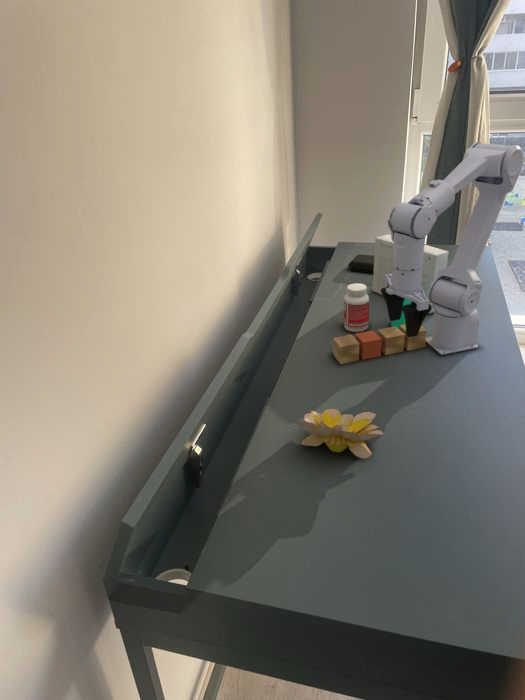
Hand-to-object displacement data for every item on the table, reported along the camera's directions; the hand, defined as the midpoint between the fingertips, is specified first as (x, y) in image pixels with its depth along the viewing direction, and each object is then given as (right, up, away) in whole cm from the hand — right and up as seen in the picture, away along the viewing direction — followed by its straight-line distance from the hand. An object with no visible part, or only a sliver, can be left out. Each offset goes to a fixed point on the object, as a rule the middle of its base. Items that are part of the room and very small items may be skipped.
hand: (403, 327), depth 110 cm
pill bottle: (-6, +1, +24) cm, 24 cm away
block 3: (+6, -3, +14) cm, 16 cm away
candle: (+6, +1, +22) cm, 23 cm away
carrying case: (+6, +21, +57) cm, 61 cm away
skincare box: (+10, +9, +36) cm, 38 cm away
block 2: (0, -4, +13) cm, 14 cm away
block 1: (-10, -6, +11) cm, 16 cm away
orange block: (-5, -5, +12) cm, 14 cm away
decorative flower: (-15, -22, -15) cm, 30 cm away
